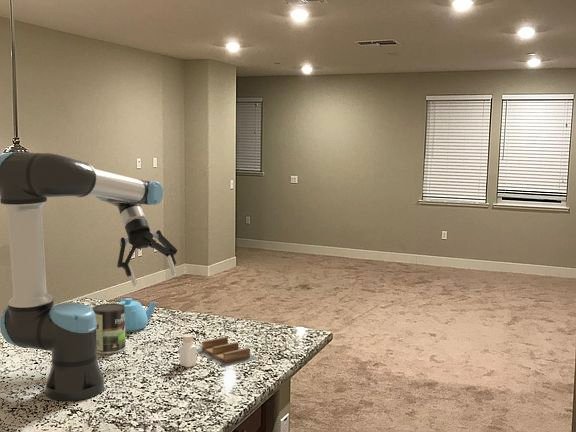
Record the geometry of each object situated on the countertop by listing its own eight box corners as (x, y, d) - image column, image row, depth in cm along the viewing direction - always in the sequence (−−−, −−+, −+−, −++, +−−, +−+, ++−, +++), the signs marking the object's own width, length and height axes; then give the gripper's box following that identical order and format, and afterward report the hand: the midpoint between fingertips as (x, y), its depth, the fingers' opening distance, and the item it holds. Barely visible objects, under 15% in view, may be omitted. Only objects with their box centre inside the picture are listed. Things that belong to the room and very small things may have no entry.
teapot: (123, 319, 239) (122, 291, 238) (157, 323, 234) (157, 295, 233) (98, 330, 225) (97, 301, 223) (134, 335, 220) (134, 305, 218)
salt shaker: (188, 362, 194) (188, 332, 193) (197, 365, 191) (197, 335, 190) (178, 365, 191) (178, 335, 190) (187, 368, 188) (187, 338, 187)
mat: (259, 359, 197) (259, 358, 197) (223, 368, 189) (223, 367, 189) (227, 343, 212) (227, 342, 212) (193, 350, 204) (193, 349, 204)
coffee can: (131, 345, 209) (130, 304, 207) (116, 355, 199) (116, 312, 197) (102, 342, 211) (101, 302, 209) (87, 352, 201) (86, 310, 199)
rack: (202, 350, 204) (202, 341, 203) (225, 345, 209) (225, 336, 209) (225, 363, 192) (225, 354, 192) (249, 357, 197) (249, 348, 197)
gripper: (167, 221, 219) (187, 275, 212) (96, 235, 206) (115, 293, 199) (172, 210, 213) (193, 266, 206) (100, 224, 201) (119, 283, 194)
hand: (155, 279), depth 203 cm, fingers open, 13 cm apart
